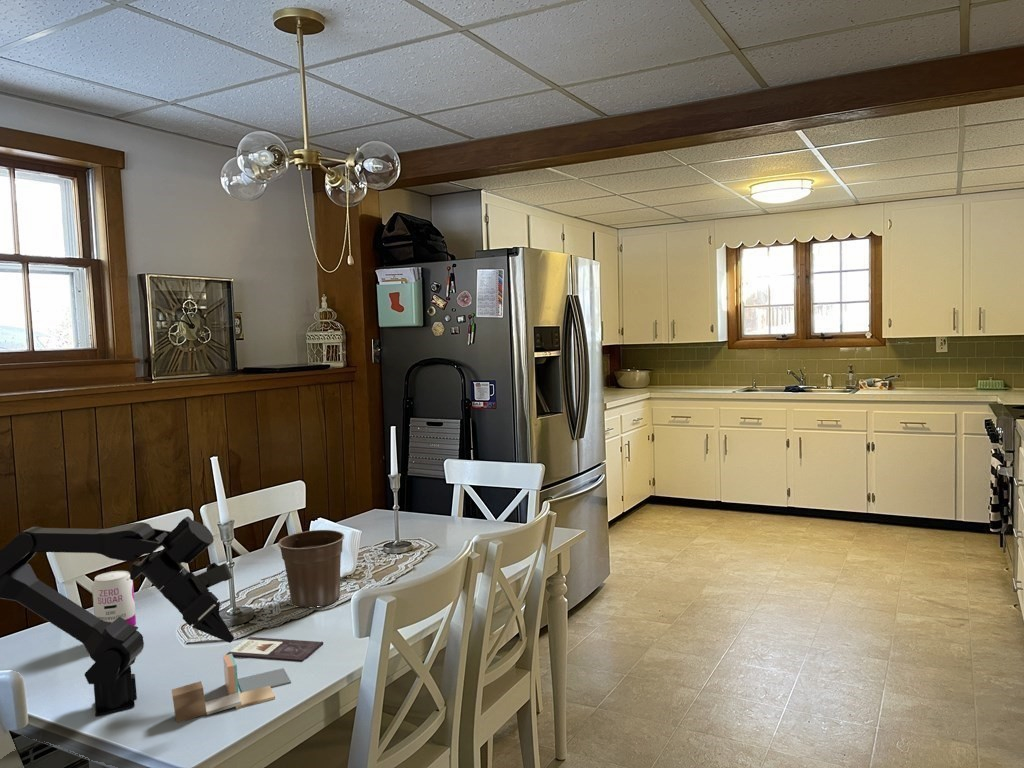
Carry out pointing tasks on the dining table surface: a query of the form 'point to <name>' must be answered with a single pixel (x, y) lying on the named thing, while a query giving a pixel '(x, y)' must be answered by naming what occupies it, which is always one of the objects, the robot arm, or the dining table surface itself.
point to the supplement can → (114, 597)
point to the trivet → (264, 680)
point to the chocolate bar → (275, 649)
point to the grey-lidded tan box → (199, 702)
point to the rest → (256, 696)
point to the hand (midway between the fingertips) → (230, 639)
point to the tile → (230, 674)
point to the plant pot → (313, 566)
